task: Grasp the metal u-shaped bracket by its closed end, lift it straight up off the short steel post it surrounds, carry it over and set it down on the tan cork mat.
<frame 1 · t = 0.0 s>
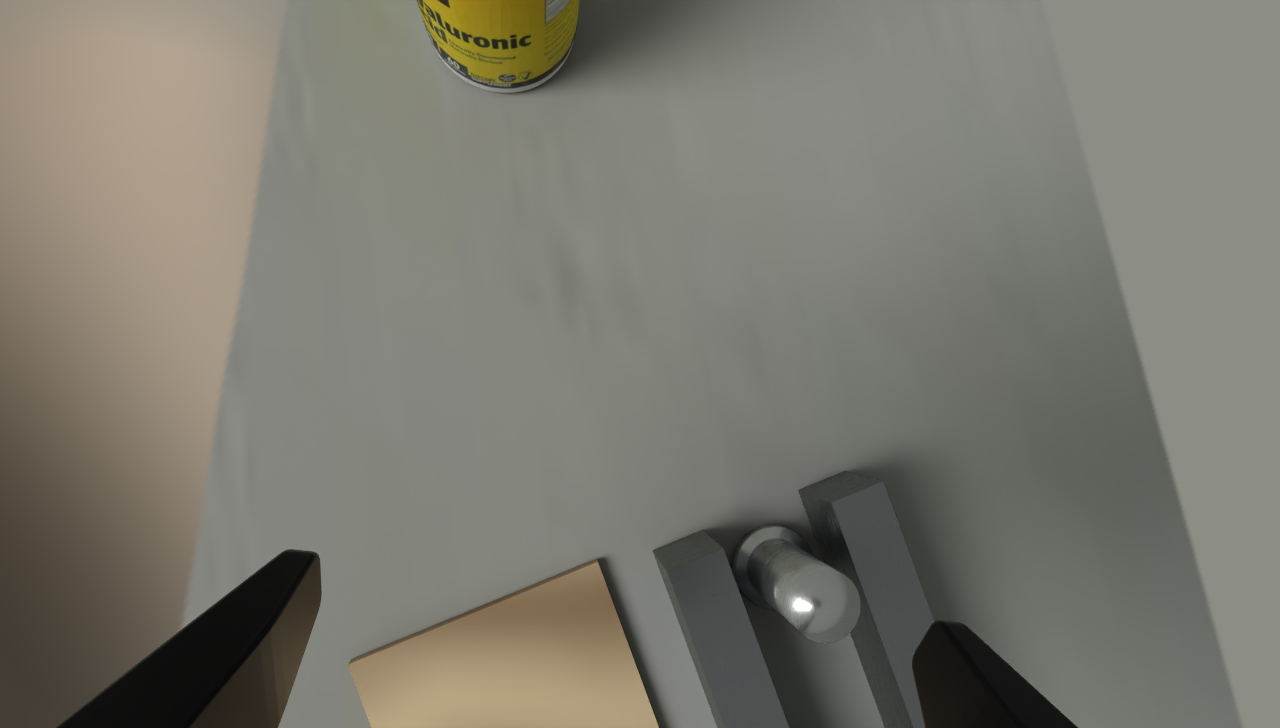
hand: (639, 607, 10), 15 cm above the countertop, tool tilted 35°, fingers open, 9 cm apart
supplement bottle: (503, 29, 25), on the countertop
metal u-shaped bracket: (814, 683, 25), on the countertop
post: (771, 564, 25), on the countertop
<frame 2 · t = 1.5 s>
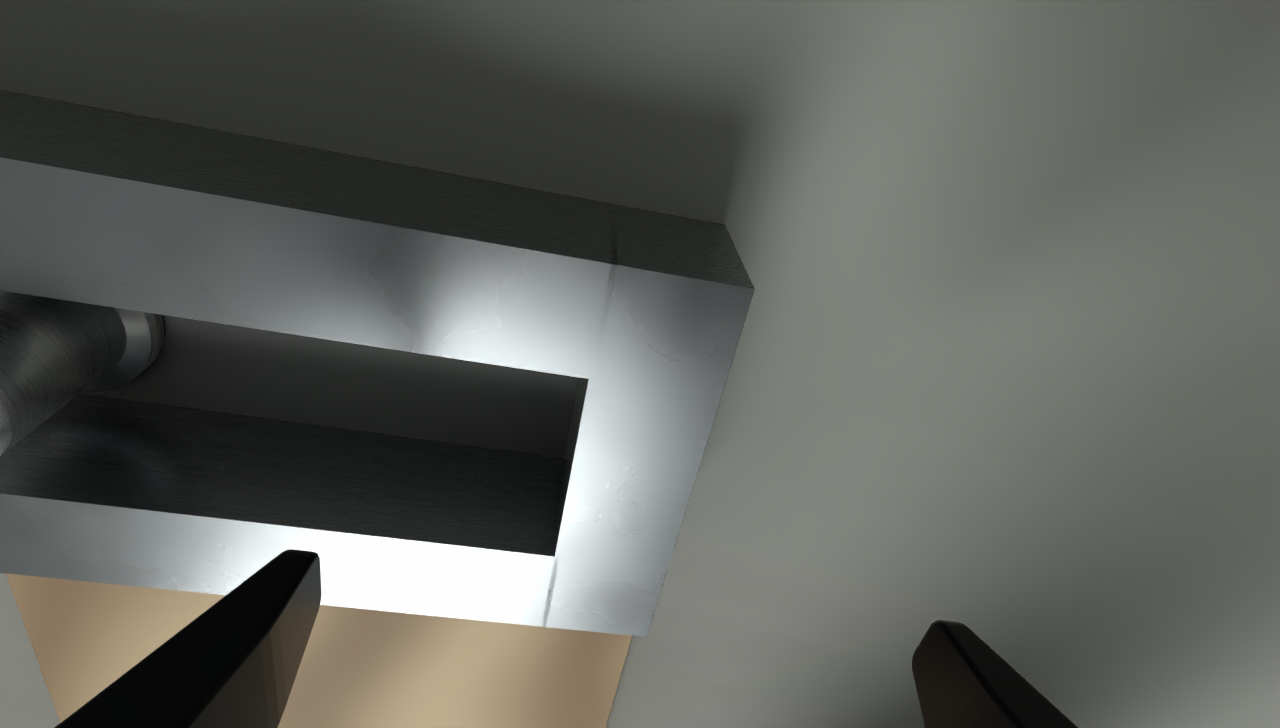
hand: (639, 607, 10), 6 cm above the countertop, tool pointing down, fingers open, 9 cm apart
mat: (345, 675, 19), on the countertop
metal u-shaped bracket: (338, 349, 14), on the countertop
post: (80, 312, 13), on the countertop
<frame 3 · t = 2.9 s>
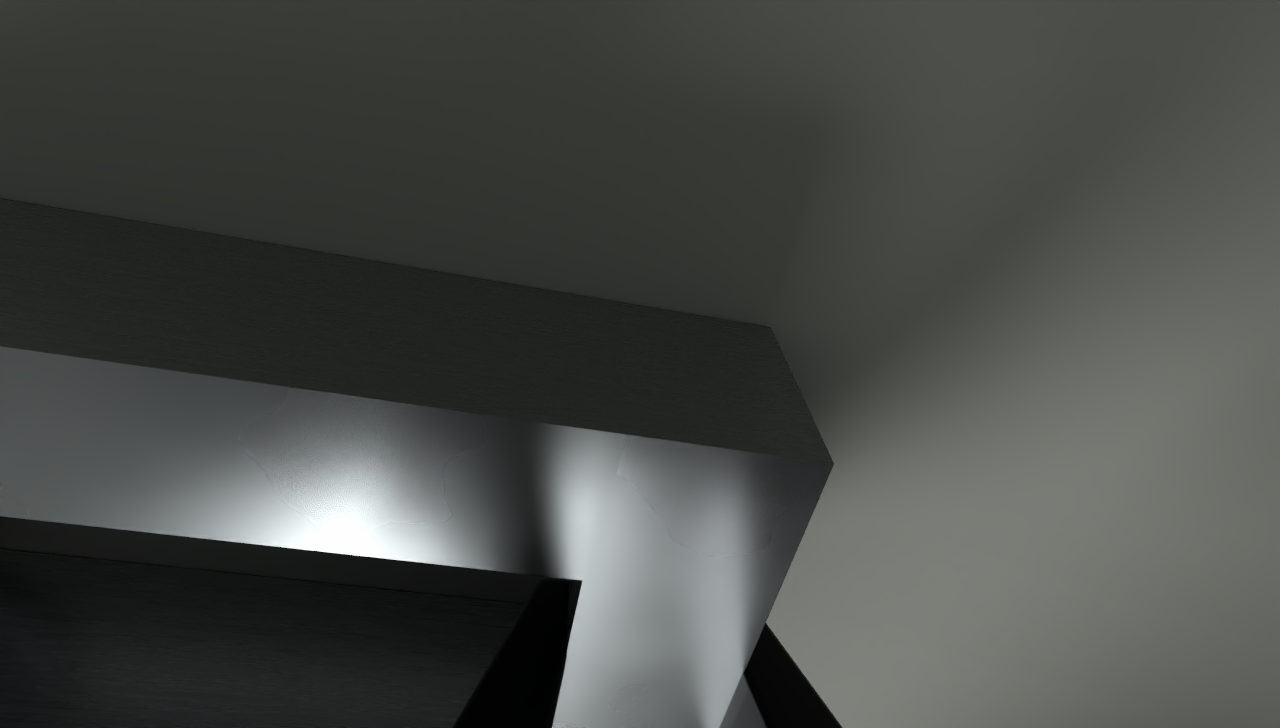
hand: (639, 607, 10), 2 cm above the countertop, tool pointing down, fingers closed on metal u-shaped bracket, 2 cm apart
metal u-shaped bracket: (250, 484, 10), on the countertop, touching gripper
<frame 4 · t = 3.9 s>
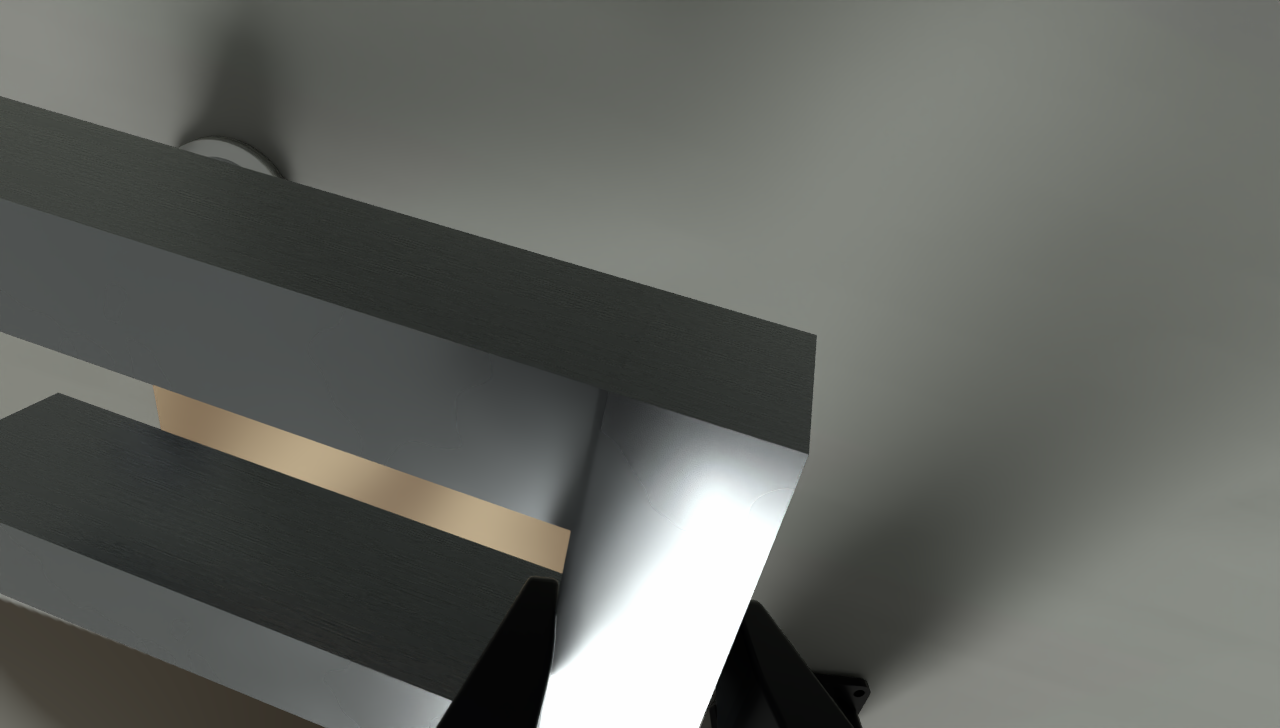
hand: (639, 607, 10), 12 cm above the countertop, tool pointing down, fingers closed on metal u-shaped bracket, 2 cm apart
mat: (405, 506, 24), on the countertop
metal u-shaped bracket: (357, 416, 12), point 8 cm above the countertop, tilted 18°, touching gripper
post: (232, 193, 18), on the countertop
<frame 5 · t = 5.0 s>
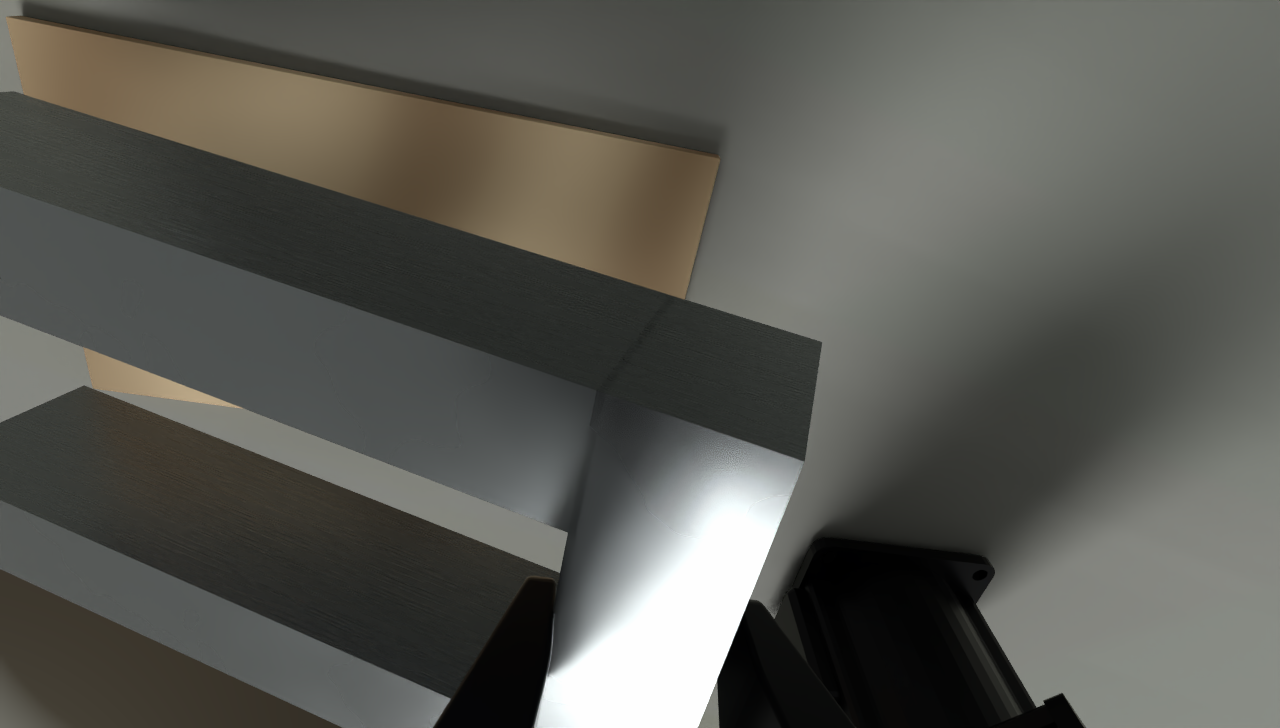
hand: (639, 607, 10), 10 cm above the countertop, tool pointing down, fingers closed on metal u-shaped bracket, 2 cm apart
mat: (389, 275, 17), on the countertop
metal u-shaped bracket: (368, 414, 12), point 6 cm above the countertop, tilted 20°, touching gripper
when the fingers open (3 cm above the countertop, at t = 6.3 s): metal u-shaped bracket stays where it is, resting on mat.
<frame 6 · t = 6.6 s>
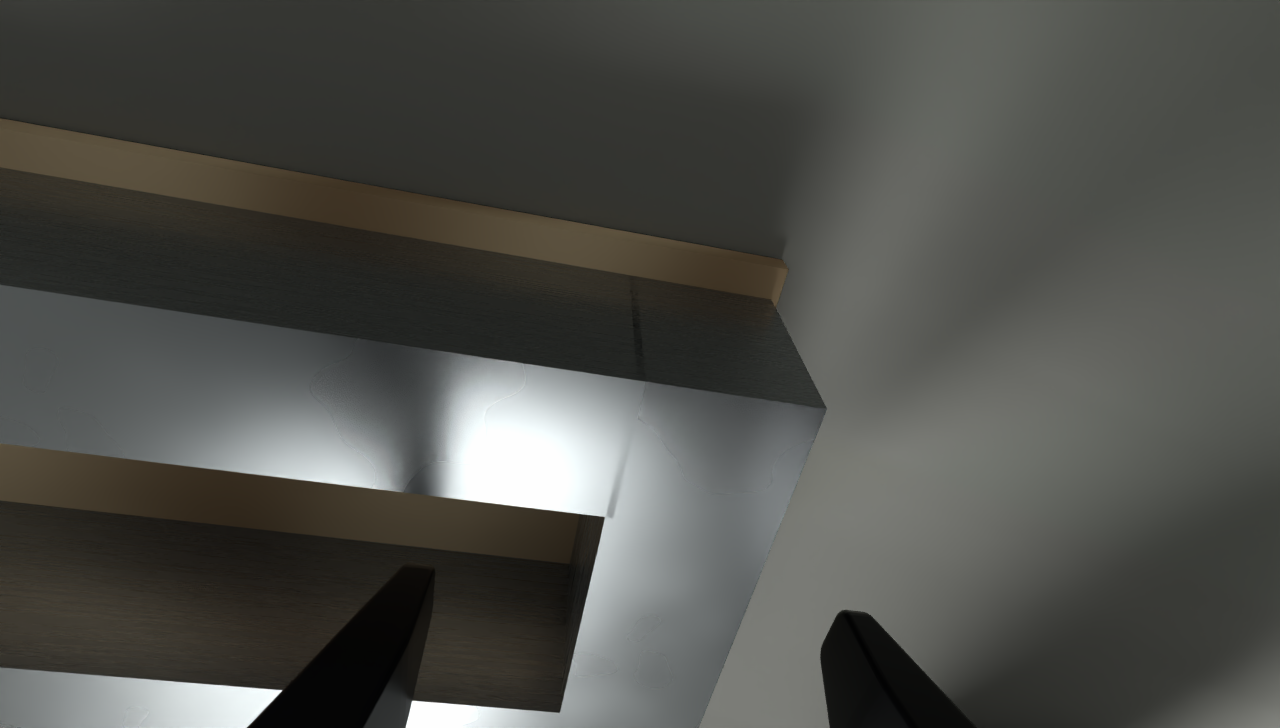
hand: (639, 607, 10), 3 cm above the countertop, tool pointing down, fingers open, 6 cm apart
mat: (286, 428, 11), on the countertop
metal u-shaped bracket: (294, 445, 11), resting on mat
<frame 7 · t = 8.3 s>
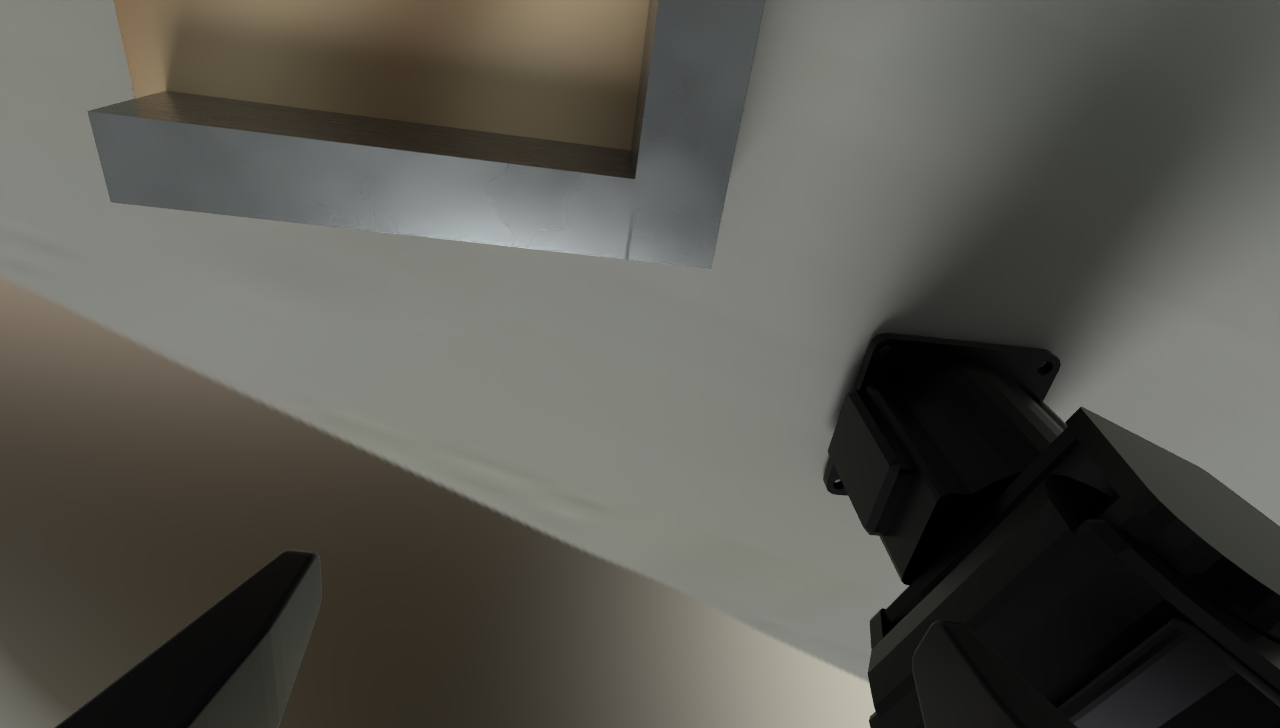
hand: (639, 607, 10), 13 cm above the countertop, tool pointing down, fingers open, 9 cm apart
mat: (438, 40, 17), on the countertop
metal u-shaped bracket: (446, 44, 17), resting on mat
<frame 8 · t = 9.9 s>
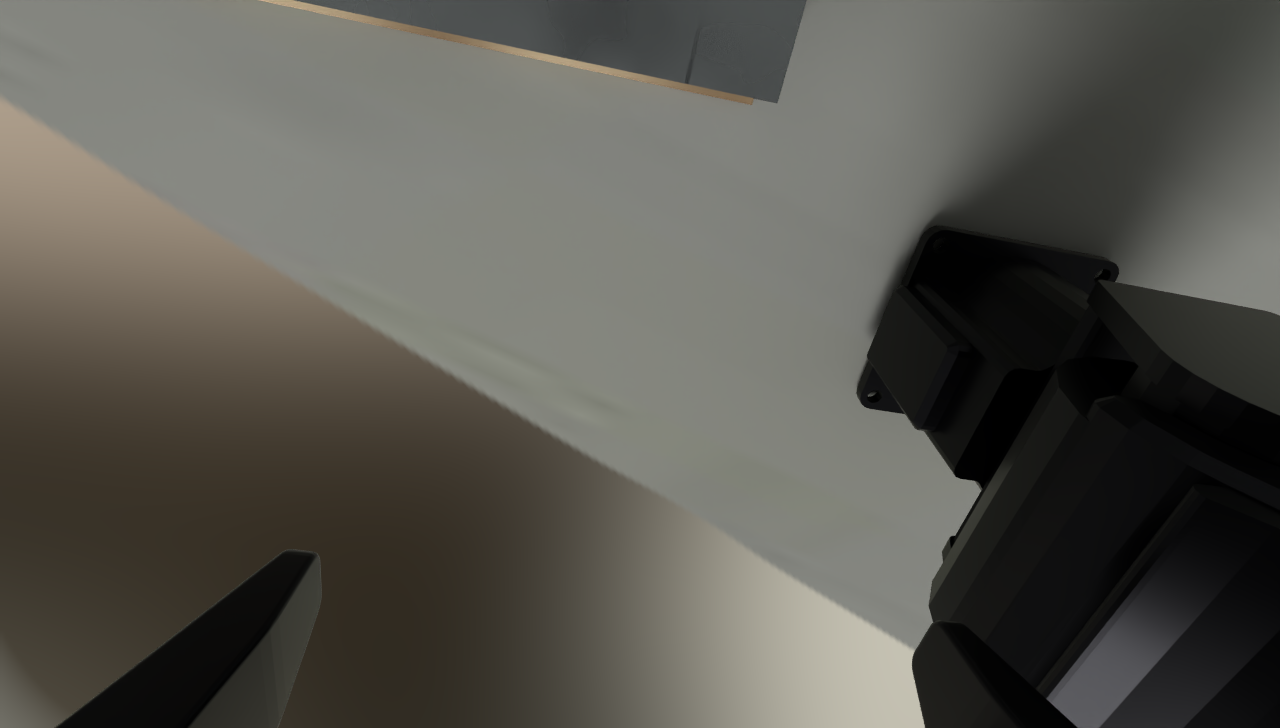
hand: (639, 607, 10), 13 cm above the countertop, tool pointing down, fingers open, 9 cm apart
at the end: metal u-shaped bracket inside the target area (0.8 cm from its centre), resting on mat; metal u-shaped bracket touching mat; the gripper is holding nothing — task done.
